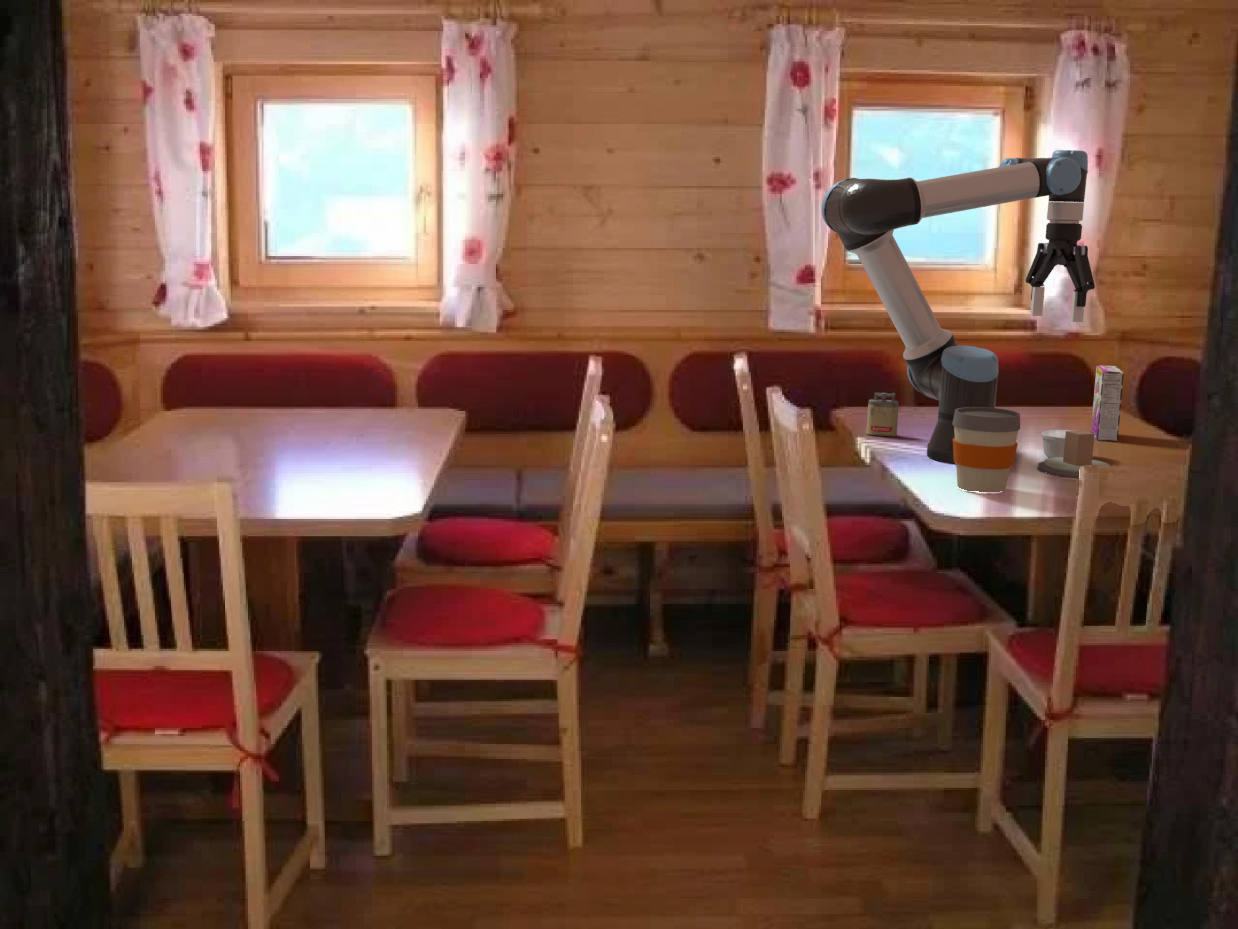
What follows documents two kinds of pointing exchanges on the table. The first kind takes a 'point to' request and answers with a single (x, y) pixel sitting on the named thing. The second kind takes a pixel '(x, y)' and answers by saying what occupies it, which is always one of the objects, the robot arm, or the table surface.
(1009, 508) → the table surface
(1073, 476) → the trivet
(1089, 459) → the lid
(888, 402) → the lighter
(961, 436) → the reusable coffee cup
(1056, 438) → the ramekin
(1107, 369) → the candy bar box
